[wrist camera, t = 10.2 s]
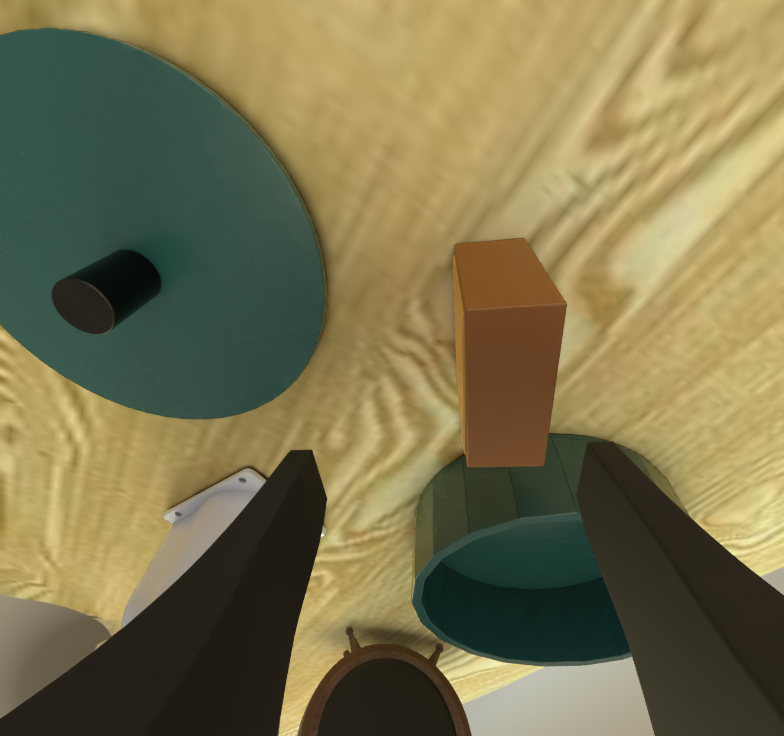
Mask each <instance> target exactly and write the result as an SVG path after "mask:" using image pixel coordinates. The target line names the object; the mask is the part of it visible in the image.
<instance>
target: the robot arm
mask: <svg viewBox="0 0 784 736" xmlns="http://www.w3.org/2000/svg"><path fill="white" fill-rule="evenodd" d="M576 497H577V501H578V505H579V509H580V513H581V517H582V521H583V524H584V528H585V532H586V535H587V538H588V540H589V543H590V546H591V548H592V551H593V553H594V556H595V559H596V561H597V564H598V566H599V569H600V571H601V574H602V576H603V579H604V581H605V584H606V587H607V589H608V592H609V594H610V597H611V599H612V602H613V604H614V607H615V609H616V612H617V614H618V617H619V620H620V622H621V625H622V627H623V630H624V633H625V636H626V639H627V641H628V644H629V647H630V650H631V654H632V657H633V661H634V664H635V667H636V671H637V674H638V677H639V681H640V684H641V688H642V691H643V695H644V698H645V702H646V705H647V709H648V713H649V716H650V720H651V723H652V727H653V730H654V734H655V736H784V595H783V594H781V593H780V592H779V591H777V590H776V589H775V588H774V587H772V586H771V585H770V584H768V583H767V582H766V581H765V580H763V579H762V578H761V577H759V576H758V575H757V574H756V573H754V572H753V571H752V570H750V569H749V568H748V567H747V566H746V565H744V564H743V563H742V562H741V561H739V560H738V559H737V558H736V557H735V556H733V555H732V554H731V553H730V552H729V551H728V550H726V549H725V548H724V547H723V546H722V545H721V544H720V543H718V542H717V541H716V540H715V539H714V538H713V537H711V536H710V535H709V534H708V533H707V532H706V531H705V530H704V529H702V528H701V527H700V526H699V525H698V524H697V523H696V522H695V521H694V520H692V519H691V518H690V517H689V516H688V515H687V514H686V513H685V512H684V511H683V510H682V509H681V508H680V507H679V506H678V505H676V504H675V503H674V502H673V501H672V500H671V499H670V498H669V497H668V496H667V495H666V494H665V493H664V492H663V491H662V490H661V489H660V488H659V487H658V486H657V485H656V484H655V483H654V482H653V481H652V480H651V479H650V478H649V477H648V476H647V475H646V474H645V473H644V472H643V471H642V470H641V469H640V468H639V467H638V466H637V465H636V464H635V463H634V462H633V461H632V460H631V459H630V458H629V457H628V456H627V455H626V454H625V453H624V452H623V451H622V450H621V449H620V448H619V447H618V446H617V445H616V444H615V443H614V442H587V446H586V450H585V455H584V460H583V465H582V470H581V474H580V479H579V484H578V489H577V493H576ZM326 502H327V497H326V493H325V490H324V487H323V484H322V480H321V477H320V474H319V471H318V467H317V464H316V461H315V458H314V455H313V451H312V450H291V451H290V452H289V453H288V454H287V455H286V457H285V458H284V459H283V460H282V462H281V463H280V464H279V465H278V467H277V468H276V469H275V471H274V472H273V473H272V474H271V476H270V477H269V478H268V479H267V480H265V479H264V478H263V477H262V476H260V475H259V474H258V473H257V472H255V471H254V470H252V469H250V468H246V469H243V470H241V471H240V472H238V473H236V474H234V475H232V476H230V477H228V478H227V479H225V480H223V481H221V482H219V483H217V484H216V485H214V486H212V487H210V488H208V489H206V490H204V491H203V492H201V493H199V494H197V495H195V496H193V497H192V498H190V499H188V500H186V501H184V502H182V503H180V504H179V505H177V506H175V507H173V508H171V509H169V510H168V511H166V512H165V514H164V519H165V520H166V521H168V522H170V523H171V524H173V525H172V527H171V529H170V530H169V532H168V534H167V535H166V537H165V539H164V541H163V542H162V544H161V546H160V547H159V549H158V551H157V552H156V554H155V556H154V558H153V559H152V561H151V563H150V564H149V566H148V568H147V569H146V571H145V573H144V575H143V576H142V578H141V580H140V581H139V583H138V585H137V586H136V588H135V590H134V592H133V593H132V595H131V597H130V599H129V601H128V603H127V605H126V608H125V611H124V614H123V620H122V629H121V630H120V631H118V632H117V633H116V634H115V635H113V636H112V637H111V638H110V639H107V640H105V641H103V642H101V643H99V644H98V645H97V646H96V648H95V649H94V650H93V652H92V653H91V654H89V655H88V656H87V657H86V658H84V659H83V660H81V661H80V662H79V663H78V664H76V665H75V666H74V667H72V668H71V669H70V670H68V671H67V672H66V673H64V674H63V675H62V676H60V677H59V678H57V679H56V680H55V681H53V682H52V683H50V684H49V685H47V687H45V688H43V689H42V690H40V691H39V692H38V693H36V694H35V695H33V696H32V697H31V698H30V699H28V700H26V701H25V702H24V703H22V704H21V705H19V706H18V707H16V708H15V709H14V710H12V711H11V712H10V713H8V714H7V715H5V716H3V717H2V718H1V719H0V736H278V735H279V726H280V716H281V710H282V704H283V698H284V692H285V685H286V679H287V674H288V668H289V663H290V657H291V652H292V647H293V641H294V636H295V632H296V627H297V623H298V619H299V615H300V612H301V608H302V604H303V601H304V597H305V594H306V590H307V586H308V583H309V579H310V576H311V572H312V568H313V565H314V561H315V557H316V554H317V550H318V546H319V543H320V539H321V537H323V536H325V534H326V528H325V527H324V526H323V523H324V517H325V509H326Z"/></svg>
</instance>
